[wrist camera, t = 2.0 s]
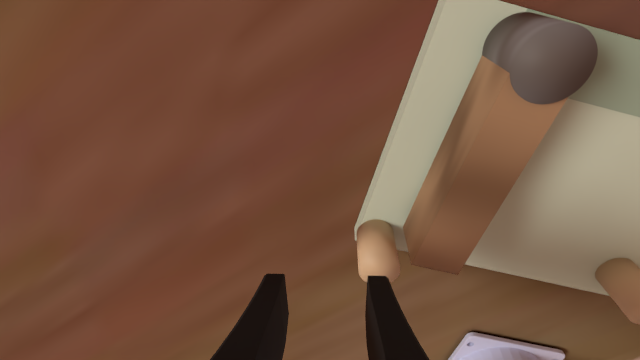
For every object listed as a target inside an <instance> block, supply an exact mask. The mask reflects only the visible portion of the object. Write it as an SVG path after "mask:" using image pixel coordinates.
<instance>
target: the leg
mask: <svg viewBox="0 0 640 360" xmlns="http://www.w3.org/2000/svg"><path fill="white" fill-rule="evenodd" d="M597 56H598V48H597V43H596V40H595V38H594V36H593V35H592V33H591V32H590V31H589V30H588V29H586V28H585V27H583V26H580V25H578V24H574V23H570V22H566V21H562V20H558V19H555V18H551V17H547V16H543V15H539V14H535V13H531V12H520V13H516V14H513V15H510V16H508V17H506V18H504V19H503V20H501V21H500V22H499V23H498V24H497V25H496V26H495V27H494V28H493V29H492V30H491V31H490V33H489V34H488V36H487V38H486V40H485V42H484V45H483V50H482V56H481V59H480V61H479V63H478V65H477V67H476V69H475V72H474V74H473V76H472V78H471V80H470V82H469V85H468V87H467V89H466V91H465V93H464V95H463V98H462V100H461V102H460V104H459V106H458V108H457V111H456V113H455V115H454V117H453V119H452V121H451V124H450V126H449V128H448V130H447V132H446V135H445V137H444V139H443V141H442V143H441V145H440V148H439V150H438V152H437V154H436V156H435V158H434V161H433V163H432V165H431V167H430V169H429V171H428V174H427V176H426V178H425V180H424V182H423V184H422V187H421V189H420V191H419V193H418V195H417V197H416V200H415V202H414V204H413V206H412V208H411V210H410V213H409V215H408V217H407V219H406V221H405V223H404V226H403V231H404V235H405V239H406V244H407V248H408V252H409V257H410V261H411V265H415V266H420V267H424V268H429V269H433V270H438V271H443V272H447V273H452V274H457V275H458V274H459V272H460V271H461V269H462V268H463V266H464V264H465V263H466V261H467V260H468V258H469V256H470V255H471V253H472V251H473V250H474V248H475V247H476V245H477V243H478V242H479V240H480V239H481V237H482V235H483V234H484V232H485V231H486V229H487V227H488V226H489V224H490V222H491V221H492V219H493V218H494V216H495V214H496V213H497V211H498V210H499V208H500V206H501V205H502V203H503V202H504V200H505V198H506V197H507V195H508V193H509V192H510V190H511V189H512V187H513V185H514V184H515V182H516V181H517V179H518V177H519V176H520V174H521V173H522V171H523V169H524V168H525V166H526V164H527V163H528V161H529V160H530V158H531V156H532V155H533V153H534V152H535V150H536V148H537V147H538V145H539V144H540V142H541V140H542V139H543V137H544V135H545V134H546V132H547V131H548V129H549V127H550V126H551V124H552V123H553V121H554V119H555V118H556V116H557V115H558V113H559V111H560V110H561V108H562V106H563V105H564V103H565V102H566V100H567V98H568V97H569V96H570V95H572V94H573V93H575V92H576V91H577V90H578V89H579V88H581V87H582V86H583V84H584V83H585V82H586V81H587V80H588V78H589V77H590V75H591V73H592V72H593V70H594V67H595V65H596V61H597Z"/></svg>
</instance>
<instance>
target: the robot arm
mask: <svg viewBox="0 0 640 360" xmlns="http://www.w3.org/2000/svg"><path fill="white" fill-rule="evenodd" d="M288 315H289V312H288V303H287V294H286V285H285V275H284V274H266V275H265V276H264V278H263V280H262V282H261V284H260V285H259V287H258V289H257V291H256V293H255V295H254V296H253V298H252V300H251V301H250V303H249V305H248V306H247V308H246V310H245V311H244V313H243V314H242V316H241V317H240V319H239V320H238V322H237V323H236V325H235V326H234V328H233V329H232V331H231V332H230V334H229V335H228V336H227V338H226V339H225V340H224V342H223V343H222V345H221V346H220V347H219V349H218V350H217V351H216V353H215V354H214V355H213V356H212V358H211V359H210V360H282V358H283V353H284V348H285V343H286V334H287V325H288ZM365 317H366V339H367V350H368V357H369V360H429V358H428V357H427V355H426V353H425V352H424V350H423V348H422V347H421V345H420V344H419V342H418V340H417V338H416V337H415V335H414V333H413V331H412V329H411V327H410V326H409V324H408V322H407V320H406V318H405V316H404V314H403V312H402V310H401V308H400V306H399V304H398V302H397V299H396V297H395V295H394V292H393V290H392V287H391V284H390V282H389V278H387V277H386V276H368V279H367V296H366V314H365ZM564 358H565V354H564V352H563V351H562V350H559V349H554V348H549V347H544V346H540V345H535V344H530V343H525V342H520V341H515V340H510V339H505V338H500V337H495V336H490V335H486V334H481V333H476V332H470V333H468V334H467V335H466V336H465V337H464V338H463V340H462V341H461V343H460V344H459V345H458V347H457V348H456V349H455V351H454V352H453V354H452V355H451V356H450V358H449V359H448V360H563V359H564Z"/></svg>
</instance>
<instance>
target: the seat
mask: <svg viewBox="0 0 640 360" xmlns="http://www.w3.org/2000/svg"><path fill="white" fill-rule="evenodd" d="M520 12H531V13H535V14H539V15H543V16H547V17H551V18H555V19H558V20H562V21H566V22H570V23H574V24H578V25H580V26H583V27H585V28H586V29H588V30H589V31H590V32H591V33H592V35H593V36H594V38H595V40H596V43H597V48H598V56H597V61H596V65H595V67H594V70H593V72H592V73H591V75H590V77H589V78H588V80H587V81H586V82H585V83H584V84H583V86H582V87H581V88H579V89H578V90H577V91H576V92H575V93H573V94H572V95H570V96H569V97H568V98H567V100H566V102H565V103H564V105H563V106H562V108H561V110H560V111H559V113H558V115H557V116H556V118H555V119H554V121H553V123H552V124H551V126H550V127H549V129H548V131H547V132H546V134H545V135H544V137H543V139H542V140H541V142H540V144H539V145H538V147H537V148H536V150H535V152H534V153H533V155H532V156H531V158H530V160H529V161H528V163H527V164H526V166H525V168H524V169H523V171H522V173H521V174H520V176H519V177H518V179H517V181H516V182H515V184H514V185H513V187H512V189H511V190H510V192H509V193H508V195H507V197H506V198H505V200H504V202H503V203H502V205H501V206H500V208H499V210H498V211H497V213H496V214H495V216H494V218H493V219H492V221H491V222H490V224H489V226H488V227H487V229H486V231H485V232H484V234H483V235H482V237H481V239H480V240H479V242H478V243H477V245H476V247H475V248H474V250H473V251H472V253H471V255H470V256H469V258H468V260H467V261H466V263H465V264H466V265H471V266H475V267H480V268H484V269H489V270H493V271H498V272H502V273H507V274H512V275H516V276H521V277H525V278H530V279H534V280H539V281H544V282H548V283H553V284H557V285H562V286H566V287H571V288H576V289H580V290H585V291H589V292H594V293H598V294H603V295H608V296H610V297H611V298H612V299H613V300H614V302H615V303H616V304H617V305H618V307H619V308H620V309H621V310H622V312H623V313H624V314H625V315H626V317H627V318H628V319H629V320H630V321H631V322H633V323H635V324H640V40H637V39H634V38H630V37H627V36H623V35H620V34H616V33H613V32H609V31H605V30H602V29H598V28H595V27H591V26H588V25H584V24H581V23H577V22H574V21H570V20H566V19H563V18H559V17H556V16H552V15H549V14H545V13H542V12H538V11H534V10H531V9H527V8H524V7H520V6H517V5H513V4H510V3H506V2H502V1H499V0H439V1H438V4H437V6H436V9H435V12H434V14H433V17H432V20H431V23H430V25H429V28H428V31H427V33H426V36H425V39H424V41H423V44H422V47H421V50H420V52H419V55H418V58H417V60H416V63H415V66H414V68H413V71H412V74H411V77H410V79H409V82H408V85H407V87H406V90H405V93H404V95H403V98H402V101H401V104H400V106H399V109H398V112H397V114H396V117H395V120H394V122H393V125H392V128H391V131H390V133H389V136H388V139H387V141H386V144H385V147H384V149H383V152H382V155H381V158H380V160H379V163H378V166H377V168H376V171H375V174H374V176H373V179H372V182H371V185H370V187H369V190H368V193H367V195H366V198H365V201H364V203H363V206H362V209H361V212H360V214H359V217H358V220H357V222H356V225H355V228H354V229H355V240H356V241H357V252H358V270H359V275H360V277H361V278H362V279H363V280H364V281H365V282H367V279H368V276H386V277H387V278H389V282H390V283H391V282H393V281H394V280H395V279H396V278H397V277H398V276H399V274H400V263H399V258H398V253H397V250H402V251H407V252H408V248H407V244H406V239H405V235H404V231H403V226H404V223H405V221H406V219H407V217H408V215H409V213H410V210H411V208H412V206H413V204H414V202H415V200H416V197H417V195H418V193H419V191H420V189H421V187H422V184H423V182H424V180H425V178H426V176H427V174H428V171H429V169H430V167H431V165H432V163H433V161H434V158H435V156H436V154H437V152H438V150H439V148H440V145H441V143H442V141H443V139H444V137H445V135H446V132H447V130H448V128H449V126H450V124H451V121H452V119H453V117H454V115H455V113H456V111H457V108H458V106H459V104H460V102H461V100H462V98H463V95H464V93H465V91H466V89H467V87H468V85H469V82H470V80H471V78H472V76H473V74H474V72H475V69H476V67H477V65H478V63H479V61H480V59H481V56H482V50H483V45H484V42H485V40H486V38H487V36H488V34H489V33H490V31H491V30H492V29H493V28H494V27H495V26H496V25H497V24H498V23H499V22H500V21H501V20H503V19H504V18H506V17H508V16H510V15H513V14H516V13H520Z"/></svg>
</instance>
